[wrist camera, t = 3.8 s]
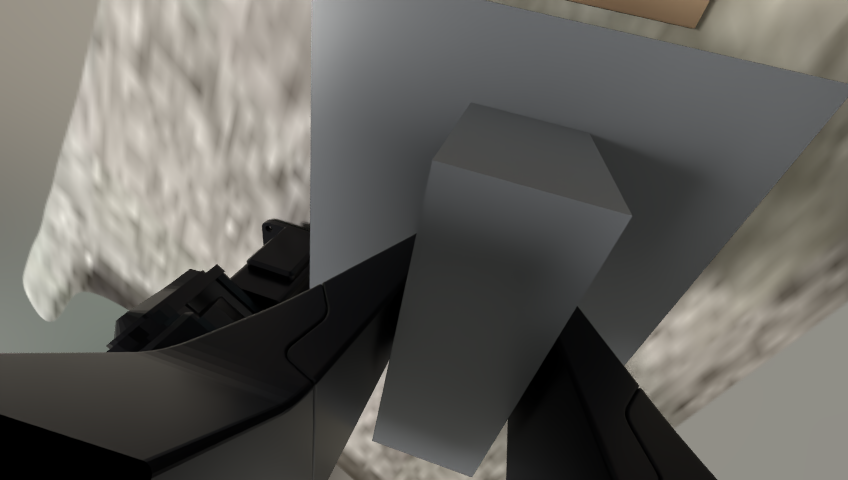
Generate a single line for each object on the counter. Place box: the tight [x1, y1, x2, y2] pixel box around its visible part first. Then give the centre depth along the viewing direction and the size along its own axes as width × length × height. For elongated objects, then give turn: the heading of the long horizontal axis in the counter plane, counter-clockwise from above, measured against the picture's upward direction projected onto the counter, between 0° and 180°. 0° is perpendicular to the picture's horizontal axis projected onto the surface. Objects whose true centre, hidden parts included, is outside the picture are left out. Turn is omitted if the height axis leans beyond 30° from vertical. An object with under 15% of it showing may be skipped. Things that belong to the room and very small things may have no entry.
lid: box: [310, 0, 848, 477], centre depth 8 cm, size 10×9×6 cm
